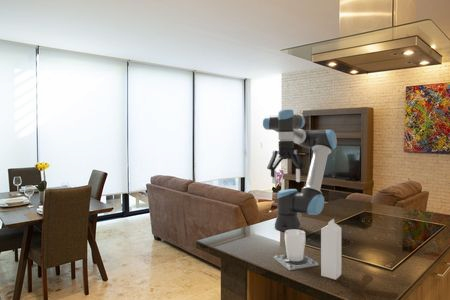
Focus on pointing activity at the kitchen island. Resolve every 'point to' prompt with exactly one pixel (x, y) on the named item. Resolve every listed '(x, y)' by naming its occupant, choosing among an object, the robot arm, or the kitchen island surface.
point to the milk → (331, 250)
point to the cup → (295, 244)
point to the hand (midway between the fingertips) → (286, 182)
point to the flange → (295, 265)
